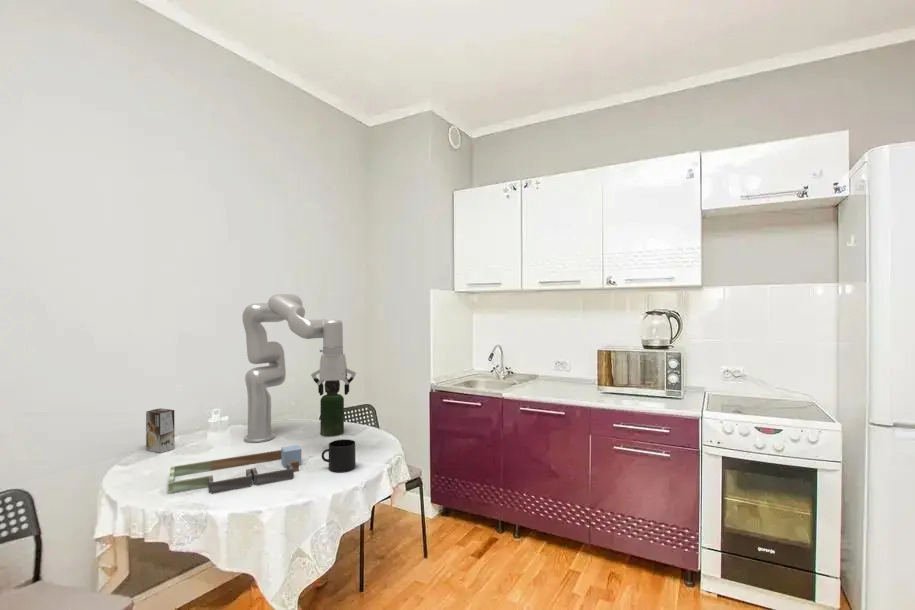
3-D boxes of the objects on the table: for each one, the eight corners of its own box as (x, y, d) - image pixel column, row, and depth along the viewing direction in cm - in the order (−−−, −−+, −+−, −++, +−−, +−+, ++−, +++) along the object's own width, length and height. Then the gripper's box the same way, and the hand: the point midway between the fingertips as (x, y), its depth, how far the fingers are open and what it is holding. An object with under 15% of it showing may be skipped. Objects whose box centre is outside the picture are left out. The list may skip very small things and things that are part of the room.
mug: (324, 464, 168) (324, 439, 168) (357, 463, 170) (357, 438, 170) (318, 473, 159) (318, 447, 159) (353, 472, 160) (353, 446, 160)
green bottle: (333, 429, 216) (333, 376, 216) (348, 432, 210) (348, 378, 210) (315, 434, 208) (315, 379, 208) (330, 438, 202) (330, 381, 202)
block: (281, 463, 169) (281, 447, 170) (298, 460, 173) (298, 444, 173) (284, 468, 164) (284, 451, 164) (301, 465, 167) (301, 449, 167)
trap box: (170, 476, 157) (170, 466, 157) (289, 456, 176) (289, 448, 176) (167, 501, 136) (167, 491, 136) (302, 476, 156) (302, 467, 156)
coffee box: (175, 448, 187) (175, 409, 187) (160, 453, 181) (160, 413, 181) (160, 446, 190) (160, 407, 190) (144, 450, 184) (145, 411, 184)
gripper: (308, 352, 175) (309, 396, 175) (353, 351, 176) (354, 395, 175) (313, 350, 182) (314, 393, 182) (357, 349, 183) (357, 392, 183)
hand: (333, 394), depth 179 cm, fingers open, 9 cm apart
